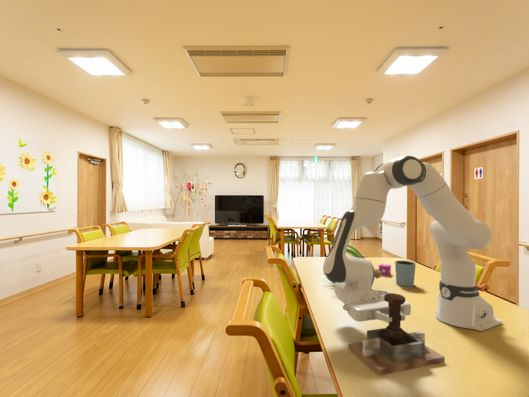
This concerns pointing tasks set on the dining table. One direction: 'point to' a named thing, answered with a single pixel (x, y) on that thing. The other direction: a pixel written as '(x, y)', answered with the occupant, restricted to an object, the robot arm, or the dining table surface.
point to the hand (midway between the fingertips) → (396, 319)
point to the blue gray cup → (405, 273)
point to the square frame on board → (394, 352)
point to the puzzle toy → (385, 269)
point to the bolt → (394, 318)
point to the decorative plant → (377, 271)
